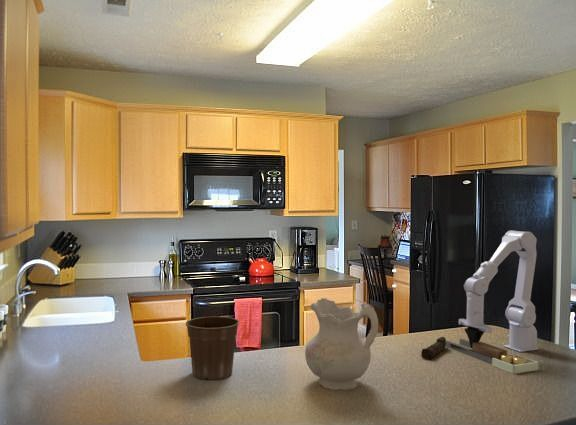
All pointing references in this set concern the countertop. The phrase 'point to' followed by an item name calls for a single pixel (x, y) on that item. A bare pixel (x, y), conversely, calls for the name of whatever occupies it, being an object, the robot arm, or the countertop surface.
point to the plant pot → (212, 346)
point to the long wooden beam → (488, 349)
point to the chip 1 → (507, 358)
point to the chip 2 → (519, 360)
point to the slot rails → (468, 350)
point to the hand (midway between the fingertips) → (474, 348)
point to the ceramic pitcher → (340, 345)
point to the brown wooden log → (434, 348)
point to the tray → (514, 369)
